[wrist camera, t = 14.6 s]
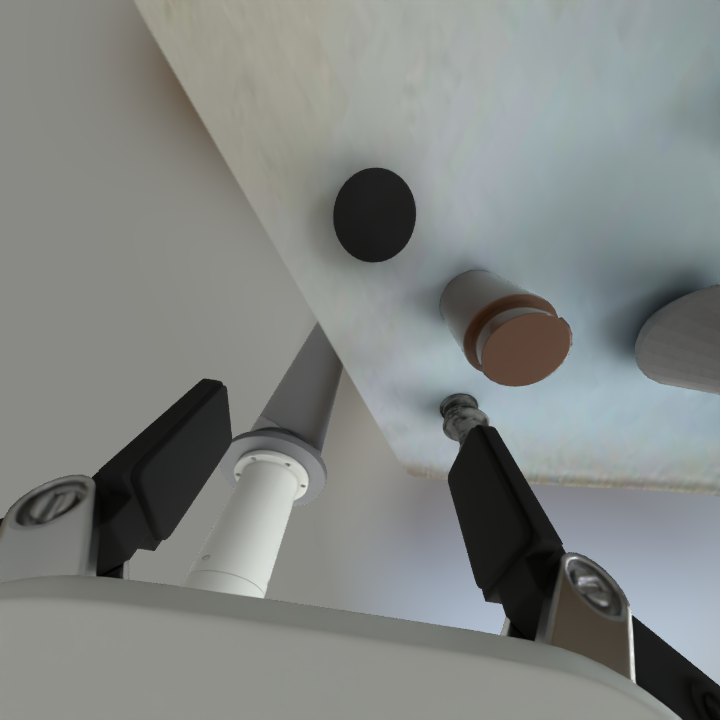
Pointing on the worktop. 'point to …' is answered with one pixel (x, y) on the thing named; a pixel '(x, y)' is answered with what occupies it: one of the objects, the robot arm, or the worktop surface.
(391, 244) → the jar lid
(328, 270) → the worktop surface
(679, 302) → the coffee pot
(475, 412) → the grey stepped cylinder
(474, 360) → the jar
